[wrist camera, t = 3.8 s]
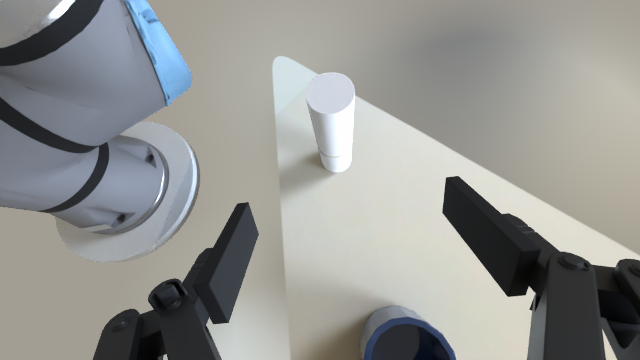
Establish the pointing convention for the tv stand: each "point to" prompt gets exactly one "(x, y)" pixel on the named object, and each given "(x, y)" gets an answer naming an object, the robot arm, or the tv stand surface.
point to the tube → (332, 118)
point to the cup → (402, 337)
